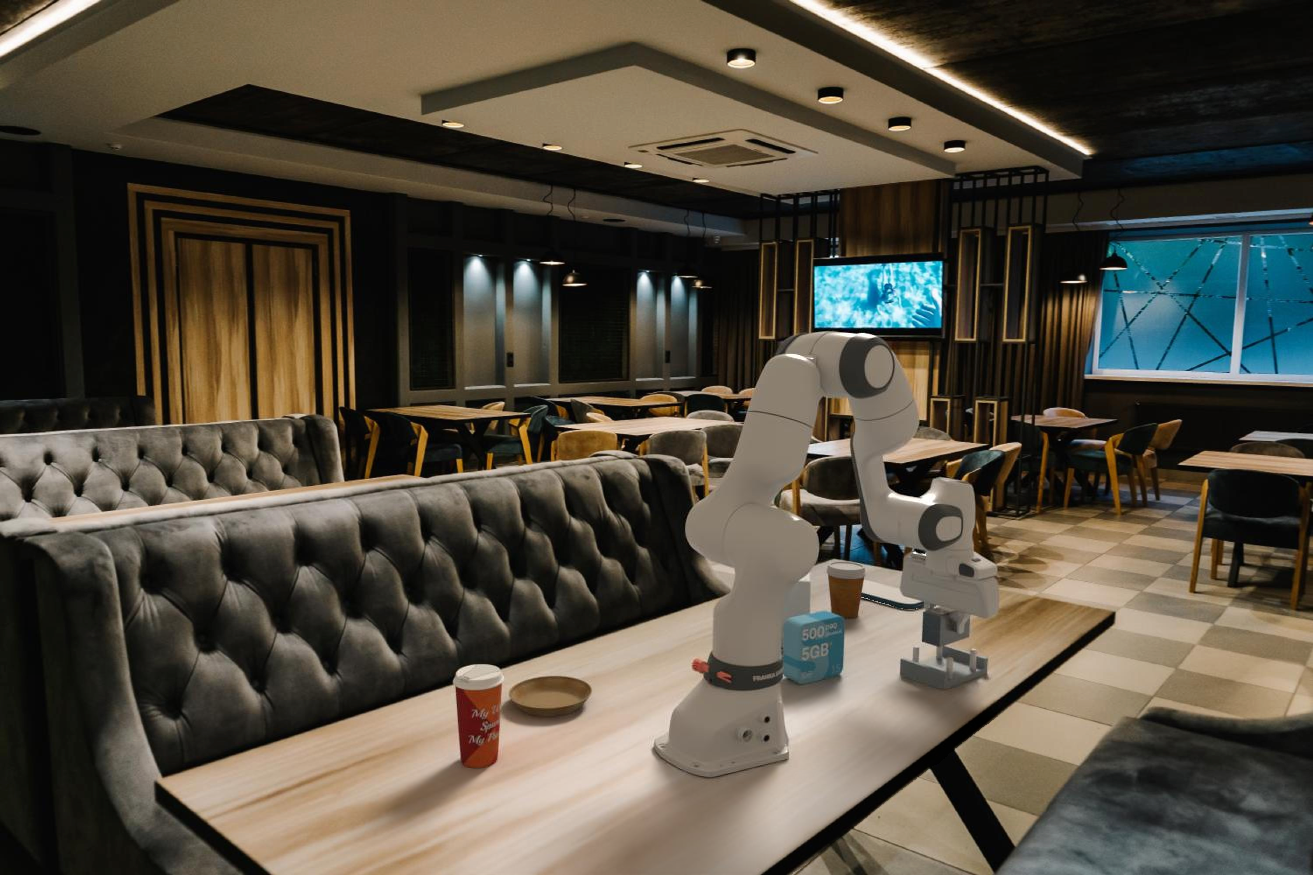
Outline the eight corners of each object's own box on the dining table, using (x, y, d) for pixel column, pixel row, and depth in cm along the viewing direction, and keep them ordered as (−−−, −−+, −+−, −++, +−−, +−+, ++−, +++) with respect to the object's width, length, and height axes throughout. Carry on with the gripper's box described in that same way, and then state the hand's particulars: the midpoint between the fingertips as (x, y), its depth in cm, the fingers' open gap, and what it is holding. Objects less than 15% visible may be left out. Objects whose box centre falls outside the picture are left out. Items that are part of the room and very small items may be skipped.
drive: (939, 647, 169) (940, 616, 168) (921, 641, 172) (923, 610, 171) (969, 636, 175) (970, 606, 174) (951, 631, 178) (952, 602, 177)
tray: (944, 690, 166) (945, 663, 165) (899, 674, 174) (900, 648, 173) (987, 673, 175) (988, 647, 174) (943, 658, 182) (944, 634, 182)
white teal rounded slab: (832, 592, 233) (832, 584, 233) (859, 585, 241) (859, 577, 241) (909, 613, 215) (909, 605, 215) (935, 605, 223) (936, 597, 223)
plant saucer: (546, 729, 147) (546, 714, 147) (491, 705, 157) (491, 690, 157) (609, 704, 158) (609, 690, 158) (554, 682, 168) (554, 669, 167)
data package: (797, 686, 167) (799, 624, 166) (781, 678, 171) (783, 618, 169) (843, 674, 173) (845, 615, 172) (827, 667, 177) (829, 609, 176)
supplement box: (809, 636, 196) (811, 570, 194) (809, 650, 187) (811, 581, 185) (768, 633, 197) (770, 568, 196) (766, 647, 188) (767, 578, 187)
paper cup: (480, 776, 130) (479, 685, 129) (443, 762, 134) (441, 674, 133) (515, 755, 137) (515, 668, 135) (479, 743, 141) (478, 659, 139)
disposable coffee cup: (868, 620, 208) (870, 570, 207) (828, 619, 208) (830, 570, 207) (860, 608, 217) (861, 561, 216) (821, 607, 217) (823, 560, 216)
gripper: (894, 551, 178) (892, 618, 179) (987, 572, 162) (983, 645, 163) (913, 547, 182) (911, 612, 183) (1005, 567, 166) (1002, 639, 167)
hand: (946, 628), depth 173 cm, fingers closed on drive, 4 cm apart
